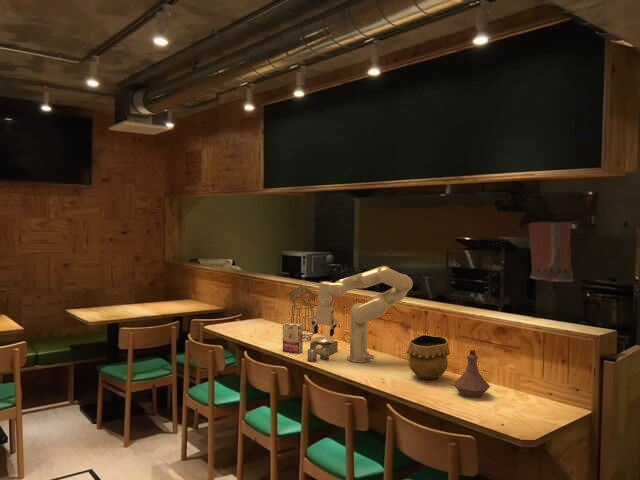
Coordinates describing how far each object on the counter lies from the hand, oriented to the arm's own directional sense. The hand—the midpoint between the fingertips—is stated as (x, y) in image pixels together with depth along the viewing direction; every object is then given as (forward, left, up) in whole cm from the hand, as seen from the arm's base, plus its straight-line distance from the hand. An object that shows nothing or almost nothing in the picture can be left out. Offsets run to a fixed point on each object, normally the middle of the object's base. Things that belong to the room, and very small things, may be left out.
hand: (323, 334), depth 294 cm
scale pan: (+6, -14, -7) cm, 17 cm away
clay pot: (-61, +5, -14) cm, 62 cm away
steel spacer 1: (+3, +7, -14) cm, 16 cm away
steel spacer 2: (-1, 0, -14) cm, 14 cm away
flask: (-85, +19, -14) cm, 88 cm away
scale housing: (+6, -14, -14) cm, 20 cm away
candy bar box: (+22, -5, -14) cm, 27 cm away
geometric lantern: (+32, -34, -14) cm, 49 cm away
